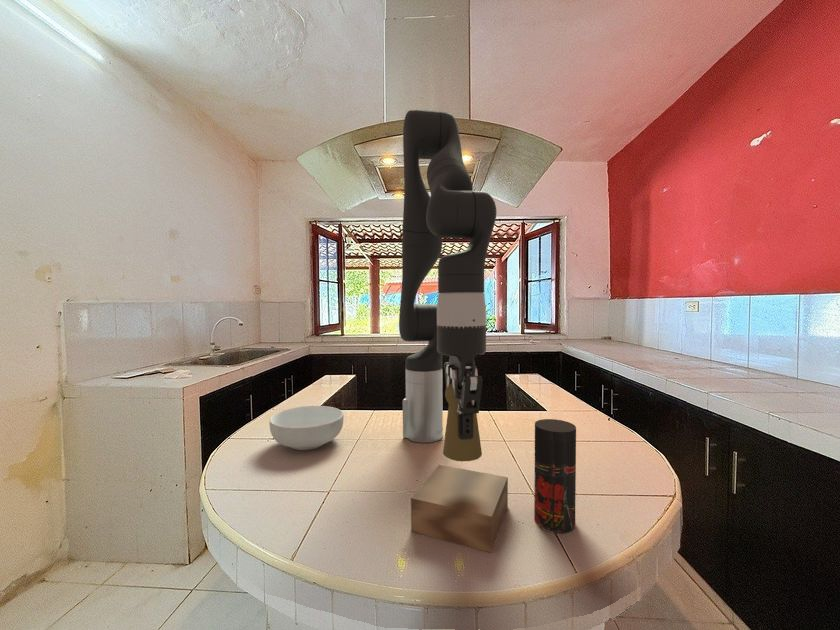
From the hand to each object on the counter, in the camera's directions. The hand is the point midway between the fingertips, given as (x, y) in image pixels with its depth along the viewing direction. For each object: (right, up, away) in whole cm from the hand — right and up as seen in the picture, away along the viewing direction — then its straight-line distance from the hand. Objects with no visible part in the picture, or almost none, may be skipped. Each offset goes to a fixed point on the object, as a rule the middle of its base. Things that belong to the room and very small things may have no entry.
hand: (461, 432), depth 57 cm
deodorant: (+14, -14, -1) cm, 20 cm away
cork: (0, -3, 0) cm, 3 cm away
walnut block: (0, -14, 0) cm, 14 cm away
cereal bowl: (-33, -13, +31) cm, 48 cm away
